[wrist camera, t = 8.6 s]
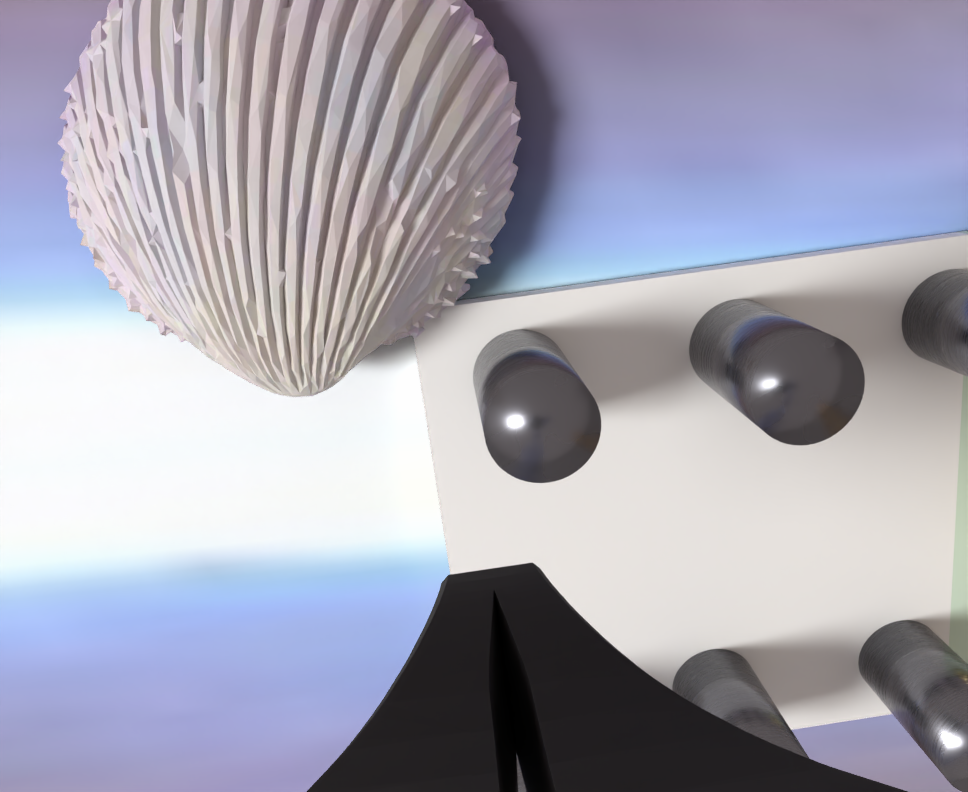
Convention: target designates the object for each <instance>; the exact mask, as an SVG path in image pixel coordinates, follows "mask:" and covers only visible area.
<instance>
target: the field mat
mask: <svg viewBox="0 0 968 792" xmlns="http://www.w3.org/2000/svg"><path fill="white" fill-rule="evenodd" d="M949 269H963V270H968V231H961V232H953V233H946V234H939V235H932V236H924V237H917V238H910V239H902V240H895V241H888V242H881V243H873V244H866V245H859V246H852V247H844V248H837V249H830V250H823V251H815V252H808V253H801V254H794V255H786V256H779V257H772V258H765V259H757V260H750V261H743V262H736V263H728V264H721V265H714V266H707V267H699V268H692V269H685V270H677V271H670V272H663V273H656V274H648V275H641V276H634V277H627V278H619V279H612V280H605V281H598V282H590V283H583V284H576V285H569V286H561V287H554V288H547V289H540V290H532V291H525V292H518V293H511V294H503V295H496V296H489V297H482V298H474V299H467V300H460V301H455V304H454V306H448V307H446V308H445V309H443V310H442V311H441V318H433V317H432V318H431V319H429V320H427V321H426V322H424V326H423V328H424V329H425V330H424V331H423V332H422V333H421V334H420V335H419V336H417V337H416V338H414V344H415V350H416V356H417V363H418V369H419V376H420V382H421V389H422V395H423V401H424V408H425V414H426V421H427V427H428V433H429V440H430V446H431V453H432V459H433V465H434V472H435V478H436V485H437V491H438V498H439V504H440V510H441V517H442V523H443V530H444V536H445V542H446V549H447V555H448V562H449V568H450V574H458V573H465V572H471V571H478V570H485V569H492V568H498V567H505V566H512V565H519V564H525V563H532V562H533V563H534V564H535V565H536V566H538V567H539V568H540V569H541V570H542V571H543V573H544V574H545V576H546V577H547V578H548V579H549V581H550V582H551V583H552V584H553V586H554V587H555V588H556V589H557V590H558V592H559V593H560V594H561V595H562V596H563V597H564V598H565V599H566V600H567V602H568V603H569V604H570V605H571V606H572V607H573V608H574V609H575V610H576V611H577V612H578V613H579V614H580V615H581V616H582V617H583V618H584V619H585V620H586V621H587V622H588V623H589V624H590V625H591V626H592V627H593V628H594V629H595V630H596V631H597V632H599V633H600V634H601V635H602V636H603V637H604V638H605V639H606V640H607V641H608V642H610V643H611V644H612V645H613V646H614V647H615V648H616V649H618V650H619V651H620V652H621V653H622V654H624V655H625V656H626V657H627V658H629V659H630V660H631V661H632V662H633V663H635V664H636V665H637V666H638V667H640V668H641V669H642V670H644V671H645V672H646V673H648V674H649V675H650V676H652V677H653V678H654V679H656V680H657V681H659V682H660V683H662V684H663V685H665V686H666V687H668V688H669V689H671V690H672V686H673V681H674V677H675V675H676V673H677V671H678V670H679V668H680V667H681V666H682V665H683V664H684V663H685V662H686V661H687V660H688V659H689V658H691V657H692V656H694V655H696V654H698V653H700V652H703V651H706V650H710V649H727V650H731V651H734V652H736V653H738V654H740V655H741V656H742V657H744V658H745V659H746V660H747V661H748V663H749V664H750V666H751V667H752V669H753V671H754V672H755V674H756V675H757V677H758V678H759V680H760V682H761V683H762V685H763V686H764V688H765V689H766V691H767V693H768V694H769V696H770V697H771V699H772V701H773V702H774V704H775V705H776V707H777V708H778V710H779V712H780V713H781V715H782V716H783V718H784V719H785V721H786V723H787V724H788V726H789V727H790V729H791V730H793V729H799V728H806V727H812V726H818V725H825V724H831V723H838V722H844V721H851V720H857V719H863V718H870V717H876V716H883V715H889V714H892V713H891V712H890V710H889V709H888V708H887V707H886V706H885V704H884V703H883V702H882V701H881V700H880V698H879V697H878V696H877V695H876V694H875V692H874V691H873V690H872V689H871V688H870V686H869V685H868V684H867V683H866V682H865V680H864V679H863V678H862V676H861V674H860V671H859V666H858V660H859V654H860V651H861V649H862V647H863V645H864V643H865V642H866V640H867V639H868V638H869V637H870V636H871V635H872V634H873V633H874V632H875V631H877V630H878V629H879V628H881V627H883V626H885V625H887V624H889V623H892V622H896V621H901V620H912V621H917V622H920V623H922V624H924V625H926V626H928V627H929V628H930V629H931V630H932V631H933V632H934V633H935V634H936V635H937V636H938V637H940V638H941V639H942V640H943V641H944V642H945V643H946V644H947V645H948V646H949V647H950V648H951V649H952V650H953V651H954V652H955V653H957V654H958V655H959V656H960V657H961V658H962V659H963V660H964V661H965V662H966V663H967V664H968V377H967V376H964V375H962V374H959V373H957V372H954V371H952V370H950V369H947V368H945V367H942V366H940V365H937V364H935V363H933V362H930V361H928V360H925V359H923V358H921V357H919V356H918V355H916V354H915V353H914V352H913V351H912V350H911V349H910V348H909V347H908V345H907V343H906V341H905V339H904V336H903V332H902V315H903V310H904V308H905V305H906V303H907V301H908V299H909V297H910V295H911V294H912V292H913V291H914V290H915V289H916V287H917V286H918V285H919V284H920V283H922V282H923V281H924V280H925V279H927V278H928V277H930V276H932V275H934V274H936V273H938V272H941V271H944V270H949ZM733 299H748V300H753V301H756V302H758V303H761V304H763V305H765V306H767V307H770V308H772V309H774V310H776V311H779V312H781V313H783V314H785V315H788V316H790V317H792V318H794V319H796V320H799V321H801V322H803V323H805V324H808V325H810V326H812V327H814V328H817V329H819V330H821V331H823V332H826V333H828V334H830V335H832V336H835V337H837V338H839V339H841V340H842V341H844V342H845V343H847V344H848V345H849V346H850V347H851V348H852V349H853V350H854V351H855V353H856V354H857V355H858V357H859V359H860V361H861V363H862V366H863V370H864V375H865V387H864V393H863V398H862V401H861V403H860V406H859V408H858V410H857V412H856V413H855V415H854V416H853V418H852V419H851V420H850V421H849V423H848V424H847V425H846V426H845V427H844V428H843V429H842V430H840V431H839V432H838V433H836V434H835V435H833V436H832V437H830V438H828V439H826V440H824V441H821V442H818V443H815V444H810V445H801V446H800V445H790V444H785V443H782V442H779V441H777V440H775V439H773V438H772V437H770V436H769V435H768V434H766V433H765V432H764V431H763V430H761V429H760V428H759V427H758V426H757V425H755V424H754V423H753V422H752V421H750V420H749V419H748V418H747V417H746V416H744V415H743V414H742V413H741V412H740V411H738V410H737V409H736V408H735V407H733V406H732V405H731V404H730V403H729V402H727V401H726V400H725V399H724V398H722V397H721V396H720V395H719V394H718V393H716V392H715V391H714V390H713V389H711V388H710V387H709V386H708V385H707V384H705V383H704V382H703V381H702V380H701V379H700V378H699V377H698V376H697V374H696V373H695V371H694V369H693V367H692V364H691V361H690V355H689V345H690V339H691V336H692V333H693V330H694V328H695V326H696V325H697V323H698V322H699V320H700V319H701V318H702V317H703V315H704V314H705V313H706V312H708V311H709V310H710V309H711V308H713V307H715V306H716V305H718V304H720V303H722V302H725V301H728V300H733ZM519 329H525V330H533V331H536V332H539V333H542V334H544V335H546V336H547V337H549V338H550V339H551V340H553V341H554V342H555V343H556V344H557V345H558V347H559V348H560V349H561V351H562V352H563V354H564V355H565V356H566V358H567V359H568V361H569V362H570V364H571V365H572V367H573V368H574V370H575V371H576V372H577V374H578V375H579V377H580V378H581V380H582V381H583V383H584V384H585V385H586V387H587V388H588V390H589V391H590V393H591V394H592V396H593V397H594V399H595V401H596V403H597V405H598V408H599V411H600V416H601V434H600V438H599V442H598V445H597V447H596V449H595V451H594V453H593V455H592V456H591V457H590V459H589V460H588V461H587V462H586V463H585V465H584V466H583V467H581V468H580V469H579V470H578V471H576V472H575V473H573V474H572V475H570V476H568V477H566V478H564V479H561V480H558V481H554V482H549V483H532V482H526V481H523V480H519V479H517V478H515V477H513V476H511V475H509V474H508V473H506V472H505V471H504V470H502V469H501V468H500V467H499V466H498V465H497V464H496V462H495V461H494V460H493V458H492V457H491V455H490V453H489V451H488V448H487V446H486V442H485V437H484V432H483V427H482V423H481V418H480V413H479V408H478V403H477V398H476V394H475V389H474V384H473V370H474V365H475V362H476V359H477V357H478V355H479V353H480V352H481V350H482V349H483V348H484V347H485V345H486V344H487V343H488V342H490V341H491V340H492V339H493V338H495V337H496V336H498V335H500V334H502V333H505V332H508V331H512V330H519Z"/></svg>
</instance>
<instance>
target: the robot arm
mask: <svg viewBox="0 0 968 792" xmlns="http://www.w3.org/2000/svg"><path fill="white" fill-rule="evenodd" d="M517 757H518V761H519V765H520V769H521V773H522V777H523V781H524V784H525V788H526V792H907V791H904V790H901V789H898V788H895V787H892V786H888V785H885V784H882V783H879V782H876V781H873V780H870V779H867V778H863V777H860V776H857V775H854V774H851V773H848V772H845V771H841V770H838V769H835V768H832V767H829V766H827V765H824V764H821V763H818V762H816V761H814V760H811V759H809V758H806V757H804V756H801V755H799V754H796V753H794V752H791V751H789V750H787V749H784V748H782V747H779V746H777V745H774V744H772V743H770V742H768V741H766V740H763V739H761V738H759V737H757V736H755V735H752V734H750V733H748V732H746V731H744V730H742V729H740V728H738V727H736V726H734V725H732V724H730V723H728V722H727V721H725V720H723V719H721V718H719V717H717V716H715V715H713V714H711V713H709V712H708V711H706V710H704V709H702V708H700V707H699V706H697V705H695V704H693V703H692V702H690V701H688V700H687V699H685V698H683V697H682V696H680V695H678V694H677V693H675V692H674V691H672V690H671V689H669V688H668V687H666V686H665V685H663V684H662V683H660V682H659V681H657V680H656V679H654V678H653V677H652V676H650V675H649V674H648V673H646V672H645V671H644V670H642V669H641V668H640V667H638V666H637V665H636V664H635V663H633V662H632V661H631V660H630V659H629V658H627V657H626V656H625V655H624V654H622V653H621V652H620V651H619V650H618V649H616V648H615V647H614V646H613V645H612V644H611V643H610V642H608V641H607V640H606V639H605V638H604V637H603V636H602V635H601V634H600V633H599V632H597V631H596V630H595V629H594V628H593V627H592V626H591V625H590V624H589V623H588V622H587V621H586V620H585V619H584V618H583V617H582V616H581V615H580V614H579V613H578V612H577V611H576V610H575V609H574V608H573V607H572V606H571V605H570V604H569V603H568V602H567V600H566V599H565V598H564V597H563V596H562V595H561V594H560V593H559V592H558V590H557V589H556V588H555V587H554V586H553V584H552V583H551V582H550V581H549V579H548V578H547V577H546V576H545V574H544V573H543V571H542V570H541V569H540V568H539V567H538V566H536V565H535V564H534V563H533V562H532V563H525V564H519V565H512V566H505V567H498V568H492V569H485V570H478V571H471V572H465V573H458V574H451V575H448V576H447V577H446V578H445V580H444V581H443V582H442V583H441V587H440V591H439V594H438V596H437V599H436V602H435V604H434V607H433V609H432V611H431V614H430V616H429V618H428V620H427V623H426V625H425V627H424V629H423V631H422V633H421V635H420V637H419V639H418V641H417V642H416V644H415V646H414V648H413V650H412V652H411V654H410V656H409V658H408V660H407V661H406V663H405V665H404V666H403V668H402V670H401V671H400V673H399V675H398V676H397V678H396V679H395V681H394V683H393V684H392V686H391V687H390V689H389V691H388V692H387V694H386V696H385V697H384V699H383V700H382V702H381V703H380V705H379V706H378V707H377V709H376V710H375V712H374V713H373V715H372V716H371V717H370V719H369V720H368V721H367V723H366V724H365V725H364V727H363V728H362V729H361V731H360V732H359V733H358V734H357V736H356V737H355V738H354V740H353V741H352V742H351V743H350V745H349V746H348V747H347V748H346V750H345V751H344V752H343V753H342V754H341V755H340V756H339V758H338V759H337V760H336V761H335V762H334V763H333V764H332V765H331V766H330V768H329V769H328V770H327V771H326V772H325V773H324V774H323V775H322V776H321V777H320V778H319V779H318V780H317V781H316V782H315V783H314V784H313V786H312V787H311V788H310V789H309V790H308V791H307V792H518V774H517Z"/></svg>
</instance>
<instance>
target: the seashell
mask: <svg viewBox="0 0 968 792" xmlns="http://www.w3.org/2000/svg"><path fill="white" fill-rule="evenodd" d="M79 62H80V67H79V69H78V71H77V73H76V75H75V76H74V78H73V79H72V81H71V82H70V83H69V84H68V86H67V87H66V88H65V90H64V91H66V92H68V93H71V96H70V98H69V100H68V103H67V107H66V110H65V111H64V112H63V113H62V114H61V116H60V118H61V119H64V120H67V122H68V123H67V124H66V125H64V130H63V136H62V138H61V139H60V140H59V142H58V144H59V145H60V146H61V147H62V148H63V149H64V150H65V153H64V155H63V157H62V159H61V161H64V163H63V168H62V172H61V174H62V175H63V176H64V177H65V178H66V179H67V180H68V183H67V187H66V190H68V202H69V211H70V218H76V219H77V226H78V228H79V229H81V230H82V232H83V233H84V235H83V238H82V241H81V244H80V245H83V246H88V247H89V249H90V251H91V252H92V254H93V259H94V260H95V263H94V266H95V267H97V268H98V269H100V270H102V271H103V273H104V274H105V275H106V277H107V278H108V279H109V289H113V290H117V291H118V292H119V293H120V294H121V295H122V296H123V297H124V298H125V299H126V303H127V307H128V310H129V311H132V312H140V313H141V314H143V315H144V317H145V319H146V321H151V322H153V323H155V324H157V325H158V328H159V331H160V334H162V335H165V336H166V335H167V334H168V333H170V332H172V333H173V334H175V335H177V336H178V338H179V339H180V341H181V342H183V341H185V340H186V341H188V342H190V343H191V344H192V345H193V346H195V347H196V348H197V349H199V350H200V351H201V352H202V353H204V354H205V355H206V356H207V357H208V358H210V359H211V360H213V361H215V362H216V363H218V364H220V365H222V366H223V367H224V368H226V369H227V370H229V371H231V372H232V373H234V374H236V375H238V376H239V377H241V378H243V379H245V380H247V381H248V382H250V383H252V384H254V385H256V386H259V387H261V388H263V389H265V390H268V391H270V392H272V393H276V394H279V395H285V396H291V397H301V396H313V395H316V394H318V393H320V392H323V391H325V390H327V389H329V388H330V387H332V386H334V385H335V384H336V383H337V382H339V381H340V380H341V379H342V378H343V377H344V376H345V375H346V374H347V373H348V372H349V371H350V370H351V369H352V368H354V367H355V366H356V365H357V364H358V363H359V362H360V361H361V360H362V359H363V358H364V357H365V356H367V355H368V354H369V353H371V352H372V351H374V350H375V349H377V348H378V347H379V346H380V345H381V344H386V345H392V344H393V343H395V342H396V341H397V340H399V339H402V338H405V337H408V336H410V335H411V336H412V337H414V338H416V337H417V336H419V335H420V334H421V333H422V332H423V331H424V330H425V329H424V328H423V326H424V322H426V321H427V320H429V319H431V318H432V317H433V318H441V311H442V310H443V309H445V308H446V307H448V306H454V304H455V301H456V300H457V299H458V298H460V297H461V296H462V295H463V294H465V293H466V292H467V291H468V290H470V284H466V283H465V282H466V281H467V279H468V278H478V276H477V274H476V272H475V270H476V269H477V268H478V267H479V266H480V265H481V264H489V263H491V261H490V259H489V258H488V257H489V256H490V255H491V254H492V253H493V250H492V248H491V247H490V244H491V243H492V241H493V240H494V238H495V237H496V236H497V234H498V233H499V231H500V230H501V228H502V227H503V226H504V224H505V223H506V219H505V212H506V210H507V208H508V206H509V204H510V202H511V200H512V198H513V196H514V193H513V191H511V190H510V187H511V185H512V183H513V181H514V179H515V177H516V174H517V171H518V167H517V166H516V165H515V164H514V163H512V162H513V159H514V156H515V153H516V150H517V147H518V144H519V142H520V140H521V139H522V138H520V137H519V136H517V135H516V133H517V129H518V124H519V120H520V119H521V117H520V112H519V110H517V108H516V106H515V95H516V87H517V82H513V81H509V74H508V66H507V63H506V60H505V58H504V56H503V55H501V54H499V53H498V52H497V50H496V49H495V48H494V39H493V37H492V36H491V34H490V33H489V32H488V30H487V28H486V27H485V25H484V23H483V22H482V20H480V19H478V18H476V17H474V12H473V9H472V8H471V7H470V6H468V5H467V3H466V2H465V1H464V0H111V2H110V3H109V5H108V8H107V17H106V18H105V19H104V20H101V21H98V22H97V25H96V27H95V28H94V29H93V30H92V34H91V41H90V42H89V43H88V45H87V46H86V48H85V49H84V51H83V52H82V54H81V55H80V57H79Z"/></svg>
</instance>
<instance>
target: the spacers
mask: <svg viewBox="0 0 968 792" xmlns="http://www.w3.org/2000/svg"><path fill="white" fill-rule="evenodd" d="M902 332H903V336H904V339H905V341H906V343H907V345H908V347H909V348H910V349H911V350H912V351H913V352H914V353H915V354H916V355H918V356H919V357H921V358H923V359H925V360H928V361H930V362H933V363H935V364H937V365H940V366H942V367H945V368H947V369H950V370H952V371H954V372H957V373H959V374H962V375H964V376H967V377H968V270H963V269H949V270H944V271H941V272H938V273H936V274H934V275H932V276H930V277H928V278H927V279H925V280H924V281H923V282H922V283H920V284H919V285H918V286H917V287H916V289H915V290H914V291H913V292H912V294H911V295H910V297H909V299H908V301H907V303H906V305H905V308H904V310H903V315H902ZM689 355H690V361H691V364H692V367H693V369H694V371H695V373H696V374H697V376H698V377H699V378H700V379H701V380H702V381H703V382H704V383H705V384H707V385H708V386H709V387H710V388H711V389H713V390H714V391H715V392H716V393H718V394H719V395H720V396H721V397H722V398H724V399H725V400H726V401H727V402H729V403H730V404H731V405H732V406H733V407H735V408H736V409H737V410H738V411H740V412H741V413H742V414H743V415H744V416H746V417H747V418H748V419H749V420H750V421H752V422H753V423H754V424H755V425H757V426H758V427H759V428H760V429H761V430H763V431H764V432H765V433H766V434H768V435H769V436H770V437H772V438H773V439H775V440H777V441H779V442H782V443H785V444H790V445H800V446H801V445H810V444H815V443H818V442H821V441H824V440H826V439H828V438H830V437H832V436H833V435H835V434H836V433H838V432H839V431H840V430H842V429H843V428H844V427H845V426H846V425H847V424H848V423H849V421H850V420H851V419H852V418H853V416H854V415H855V413H856V412H857V410H858V408H859V406H860V403H861V401H862V398H863V393H864V387H865V375H864V370H863V366H862V363H861V361H860V359H859V357H858V355H857V354H856V353H855V351H854V350H853V349H852V348H851V347H850V346H849V345H848V344H847V343H845V342H844V341H842V340H841V339H839V338H837V337H835V336H832V335H830V334H828V333H826V332H823V331H821V330H819V329H817V328H814V327H812V326H810V325H808V324H805V323H803V322H801V321H799V320H796V319H794V318H792V317H790V316H788V315H785V314H783V313H781V312H779V311H776V310H774V309H772V308H770V307H767V306H765V305H763V304H761V303H758V302H756V301H753V300H748V299H733V300H728V301H725V302H722V303H720V304H718V305H716V306H715V307H713V308H711V309H710V310H709V311H708V312H706V313H705V314H704V315H703V317H702V318H701V319H700V320H699V322H698V323H697V325H696V326H695V328H694V330H693V333H692V336H691V339H690V345H689ZM473 384H474V389H475V394H476V398H477V403H478V408H479V413H480V418H481V423H482V427H483V432H484V437H485V442H486V446H487V448H488V451H489V453H490V455H491V457H492V458H493V460H494V461H495V462H496V464H497V465H498V466H499V467H500V468H501V469H502V470H504V471H505V472H506V473H508V474H509V475H511V476H513V477H515V478H517V479H519V480H523V481H526V482H532V483H549V482H554V481H558V480H561V479H564V478H566V477H568V476H570V475H572V474H573V473H575V472H576V471H578V470H579V469H580V468H581V467H583V466H584V465H585V463H586V462H587V461H588V460H589V459H590V457H591V456H592V455H593V453H594V451H595V449H596V447H597V445H598V442H599V438H600V434H601V416H600V411H599V408H598V405H597V403H596V401H595V399H594V397H593V396H592V394H591V393H590V391H589V390H588V388H587V387H586V385H585V384H584V383H583V381H582V380H581V378H580V377H579V375H578V374H577V372H576V371H575V370H574V368H573V367H572V365H571V364H570V362H569V361H568V359H567V358H566V356H565V355H564V354H563V352H562V351H561V349H560V348H559V347H558V345H557V344H556V343H555V342H554V341H553V340H551V339H550V338H549V337H547V336H546V335H544V334H542V333H539V332H536V331H533V330H525V329H519V330H512V331H508V332H505V333H502V334H500V335H498V336H496V337H495V338H493V339H492V340H491V341H490V342H488V343H487V344H486V345H485V347H484V348H483V349H482V350H481V352H480V353H479V355H478V357H477V359H476V362H475V365H474V370H473ZM858 666H859V671H860V674H861V676H862V678H863V679H864V680H865V682H866V683H867V684H868V685H869V686H870V688H871V689H872V690H873V691H874V692H875V694H876V695H877V696H878V697H879V698H880V700H881V701H882V702H883V703H884V704H885V706H886V707H887V708H888V709H889V710H890V712H891V713H892V714H893V715H894V716H895V718H896V719H897V720H898V721H899V722H900V724H901V725H902V726H903V727H904V728H905V730H906V731H907V732H908V733H909V734H910V736H911V737H912V738H913V739H914V740H915V742H916V743H917V744H918V745H919V746H920V748H921V749H922V750H923V751H924V752H925V754H926V755H927V756H928V757H929V758H930V760H931V761H932V762H933V763H934V764H935V766H936V767H937V768H938V769H939V770H940V772H941V773H942V774H943V775H944V776H945V778H946V779H947V780H948V781H949V782H950V783H951V785H953V786H954V787H955V788H956V789H958V790H960V791H962V792H968V664H967V663H966V662H965V661H964V660H963V659H962V658H961V657H960V656H959V655H958V654H957V653H955V652H954V651H953V650H952V649H951V648H950V647H949V646H948V645H947V644H946V643H945V642H944V641H943V640H942V639H941V638H940V637H938V636H937V635H936V634H935V633H934V632H933V631H932V630H931V629H930V628H929V627H928V626H926V625H924V624H922V623H920V622H917V621H912V620H901V621H896V622H892V623H889V624H887V625H885V626H883V627H881V628H879V629H878V630H877V631H875V632H874V633H873V634H872V635H871V636H870V637H869V638H868V639H867V640H866V642H865V643H864V645H863V647H862V649H861V651H860V654H859V660H858ZM672 691H674V692H675V693H677V694H678V695H680V696H682V697H683V698H685V699H687V700H688V701H690V702H692V703H693V704H695V705H697V706H699V707H700V708H702V709H704V710H706V711H708V712H709V713H711V714H713V715H715V716H717V717H719V718H721V719H723V720H725V721H727V722H728V723H730V724H732V725H734V726H736V727H738V728H740V729H742V730H744V731H746V732H748V733H750V734H752V735H755V736H757V737H759V738H761V739H763V740H766V741H768V742H770V743H772V744H774V745H777V746H779V747H782V748H784V749H787V750H789V751H791V752H794V753H796V754H799V755H801V756H804V757H806V758H809V757H808V756H807V754H806V753H805V751H804V749H803V748H802V746H801V745H800V743H799V742H798V740H797V738H796V737H795V735H794V734H793V732H792V730H791V729H790V727H789V726H788V724H787V723H786V721H785V719H784V718H783V716H782V715H781V713H780V712H779V710H778V708H777V707H776V705H775V704H774V702H773V701H772V699H771V697H770V696H769V694H768V693H767V691H766V689H765V688H764V686H763V685H762V683H761V682H760V680H759V678H758V677H757V675H756V674H755V672H754V671H753V669H752V667H751V666H750V664H749V663H748V661H747V660H746V659H745V658H744V657H742V656H741V655H740V654H738V653H736V652H734V651H731V650H727V649H710V650H706V651H703V652H700V653H698V654H696V655H694V656H692V657H691V658H689V659H688V660H687V661H686V662H685V663H684V664H683V665H682V666H681V667H680V668H679V670H678V671H677V673H676V675H675V677H674V681H673V686H672ZM517 774H518V792H526V788H525V784H524V781H523V777H522V773H521V769H520V765H519V761H518V757H517Z"/></svg>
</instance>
